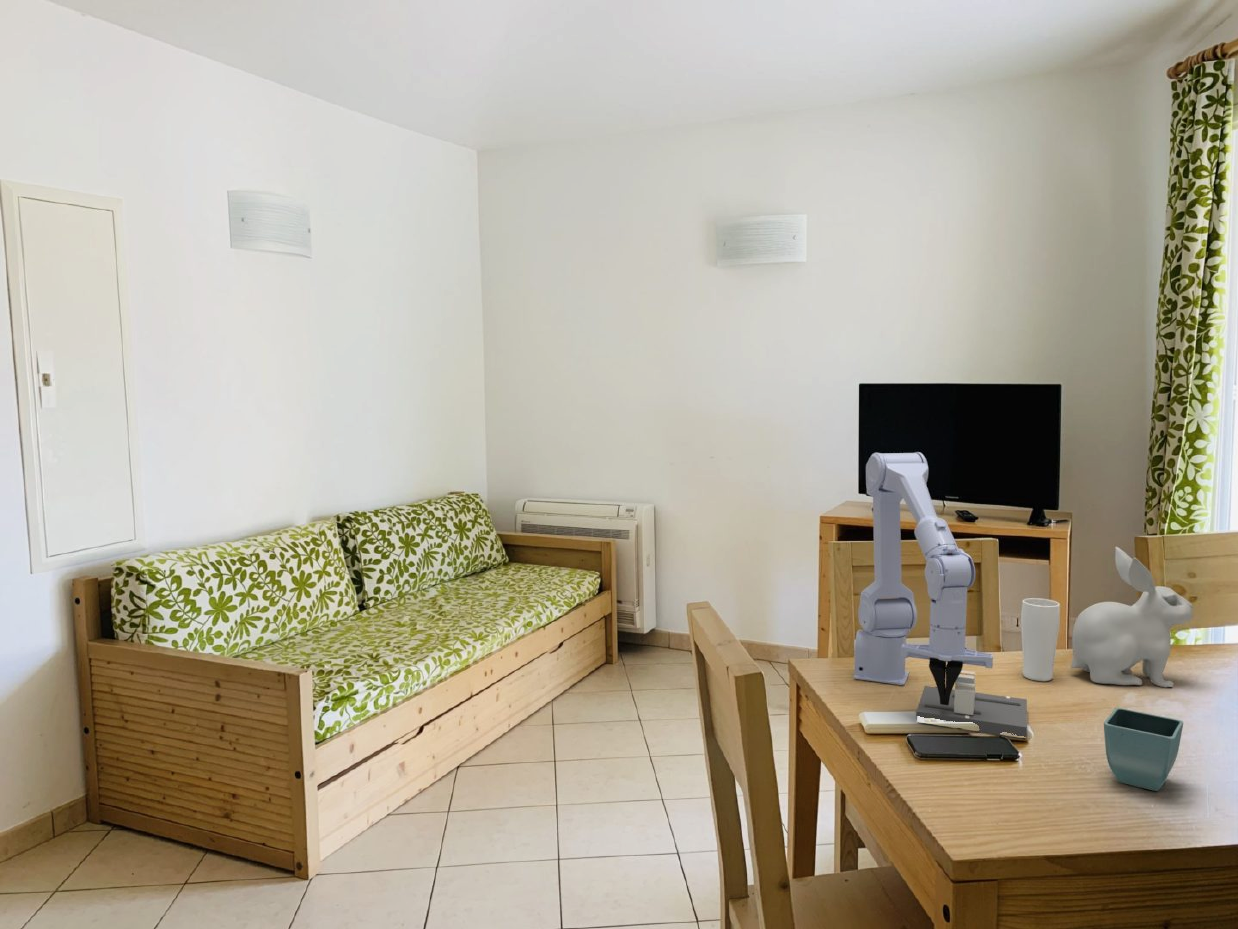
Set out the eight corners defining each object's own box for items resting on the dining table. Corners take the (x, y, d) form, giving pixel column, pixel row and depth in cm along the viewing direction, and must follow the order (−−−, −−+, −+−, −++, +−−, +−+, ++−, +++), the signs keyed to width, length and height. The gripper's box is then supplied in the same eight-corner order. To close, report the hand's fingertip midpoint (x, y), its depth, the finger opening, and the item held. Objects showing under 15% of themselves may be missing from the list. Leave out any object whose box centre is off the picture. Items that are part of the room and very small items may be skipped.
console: (915, 723, 153) (916, 710, 152) (924, 696, 165) (924, 685, 165) (1026, 739, 146) (1026, 726, 145) (1026, 710, 158) (1026, 698, 158)
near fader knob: (953, 712, 151) (954, 688, 151) (955, 704, 155) (956, 681, 155) (973, 715, 150) (974, 691, 150) (974, 707, 154) (975, 683, 153)
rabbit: (1199, 694, 167) (1208, 560, 164) (1077, 685, 171) (1084, 555, 169) (1176, 674, 178) (1184, 549, 175) (1063, 666, 183) (1069, 544, 180)
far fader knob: (954, 698, 158) (955, 675, 157) (956, 691, 161) (957, 669, 161) (973, 701, 157) (974, 678, 156) (974, 694, 160) (975, 671, 160)
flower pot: (1112, 763, 137) (1115, 706, 136) (1180, 780, 131) (1184, 720, 130) (1099, 783, 130) (1102, 723, 129) (1170, 802, 124) (1174, 738, 123)
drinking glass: (1049, 672, 179) (1052, 598, 177) (1062, 684, 172) (1066, 607, 171) (1013, 671, 179) (1016, 597, 178) (1025, 683, 173) (1028, 606, 171)
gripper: (899, 625, 152) (897, 704, 153) (993, 636, 146) (989, 717, 147) (905, 615, 158) (902, 691, 159) (994, 625, 152) (991, 703, 153)
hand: (944, 703), depth 154 cm, fingers closed
